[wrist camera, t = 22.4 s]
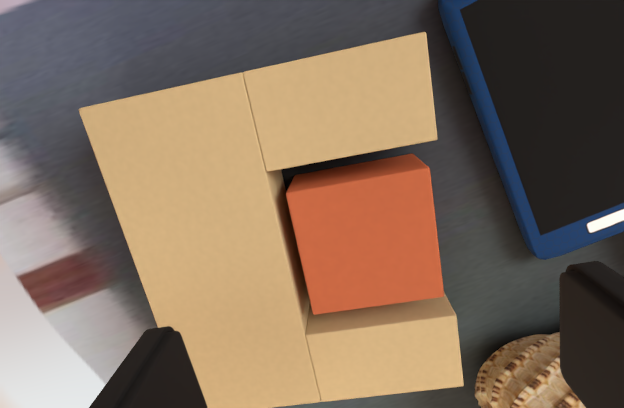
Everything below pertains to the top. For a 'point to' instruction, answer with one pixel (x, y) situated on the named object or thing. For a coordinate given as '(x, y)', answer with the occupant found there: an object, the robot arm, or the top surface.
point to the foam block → (367, 234)
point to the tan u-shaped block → (270, 224)
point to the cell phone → (549, 110)
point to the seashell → (525, 376)
